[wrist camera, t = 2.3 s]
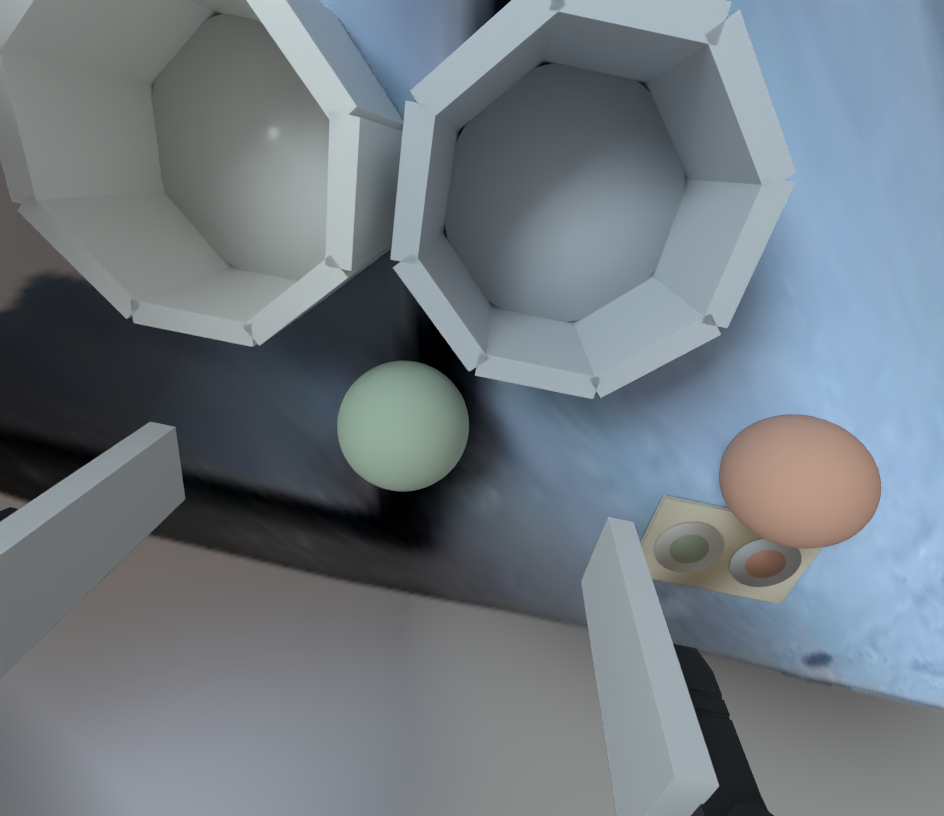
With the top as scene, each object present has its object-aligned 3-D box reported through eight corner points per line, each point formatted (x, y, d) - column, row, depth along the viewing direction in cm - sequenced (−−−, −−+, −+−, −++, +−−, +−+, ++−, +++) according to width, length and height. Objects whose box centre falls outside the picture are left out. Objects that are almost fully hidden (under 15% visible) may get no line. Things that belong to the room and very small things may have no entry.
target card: (626, 570, 24) (629, 577, 23) (663, 494, 21) (666, 501, 21) (777, 599, 24) (782, 607, 23) (830, 527, 21) (836, 535, 21)
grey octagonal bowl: (416, 305, 18) (381, 356, 13) (453, 15, 14) (421, -66, 9) (639, 350, 18) (685, 417, 13) (743, 77, 14) (866, 31, 9)
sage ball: (356, 433, 21) (314, 504, 17) (363, 331, 19) (318, 382, 14) (462, 455, 21) (449, 530, 17) (483, 355, 19) (475, 413, 14)
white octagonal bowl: (166, 267, 18) (39, 304, 13) (126, -33, 14) (-82, -140, 9) (390, 312, 18) (346, 365, 13) (418, 30, 14) (369, -43, 9)
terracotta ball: (682, 479, 21) (728, 563, 16) (731, 381, 19) (800, 449, 14) (789, 500, 21) (862, 590, 17) (851, 406, 19) (957, 480, 14)
